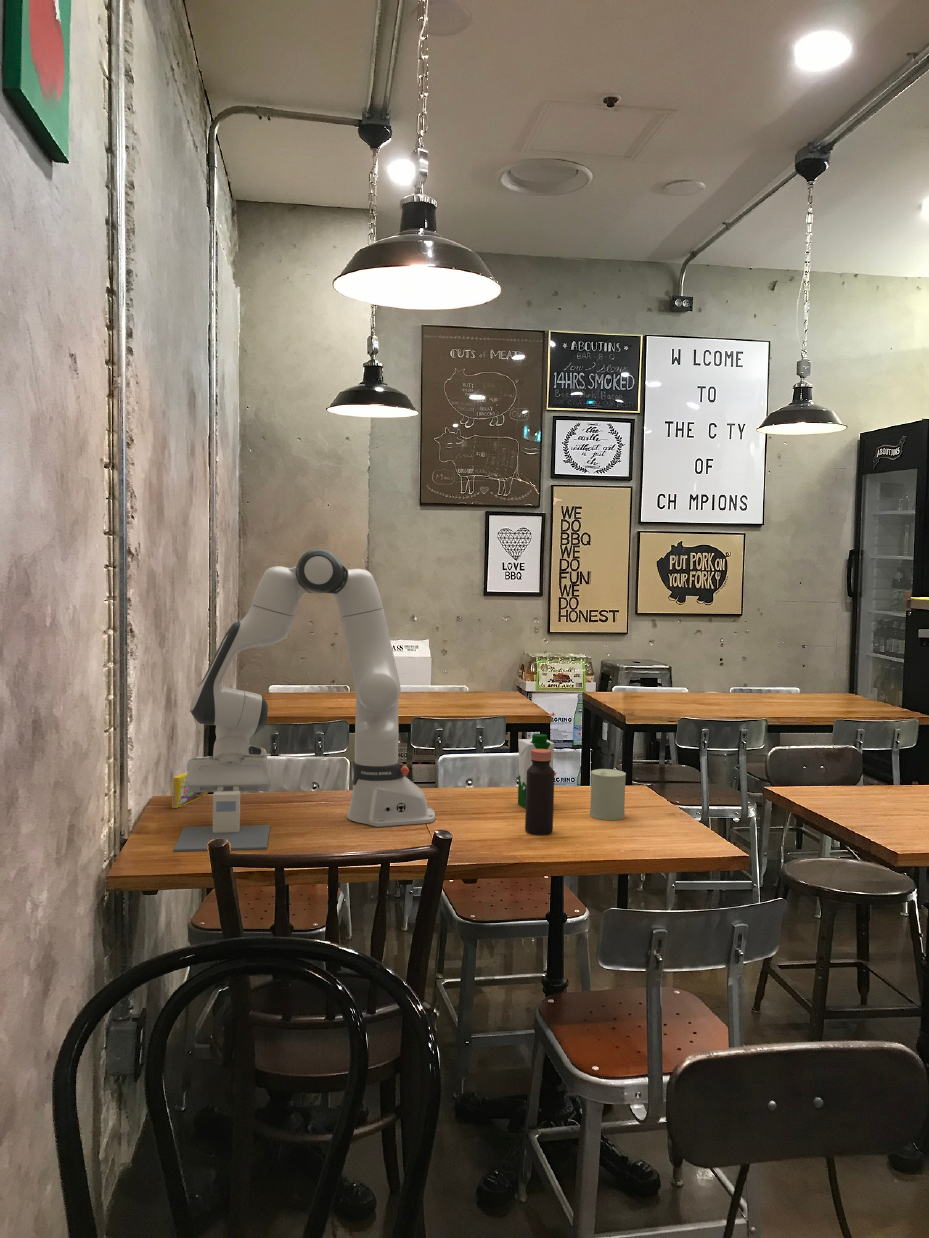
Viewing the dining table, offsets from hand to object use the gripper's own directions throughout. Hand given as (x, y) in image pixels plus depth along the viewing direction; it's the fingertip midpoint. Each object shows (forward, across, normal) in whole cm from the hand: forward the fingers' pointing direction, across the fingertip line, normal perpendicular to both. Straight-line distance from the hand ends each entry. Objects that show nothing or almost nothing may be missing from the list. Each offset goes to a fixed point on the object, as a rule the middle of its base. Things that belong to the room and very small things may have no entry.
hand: (227, 805), depth 214 cm
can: (0, +97, +9) cm, 97 cm away
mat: (+9, 0, -1) cm, 9 cm away
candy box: (-16, -12, +25) cm, 32 cm away
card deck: (+5, 0, +2) cm, 6 cm away
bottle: (+9, +75, 0) cm, 76 cm away
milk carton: (-8, +80, +16) cm, 82 cm away
